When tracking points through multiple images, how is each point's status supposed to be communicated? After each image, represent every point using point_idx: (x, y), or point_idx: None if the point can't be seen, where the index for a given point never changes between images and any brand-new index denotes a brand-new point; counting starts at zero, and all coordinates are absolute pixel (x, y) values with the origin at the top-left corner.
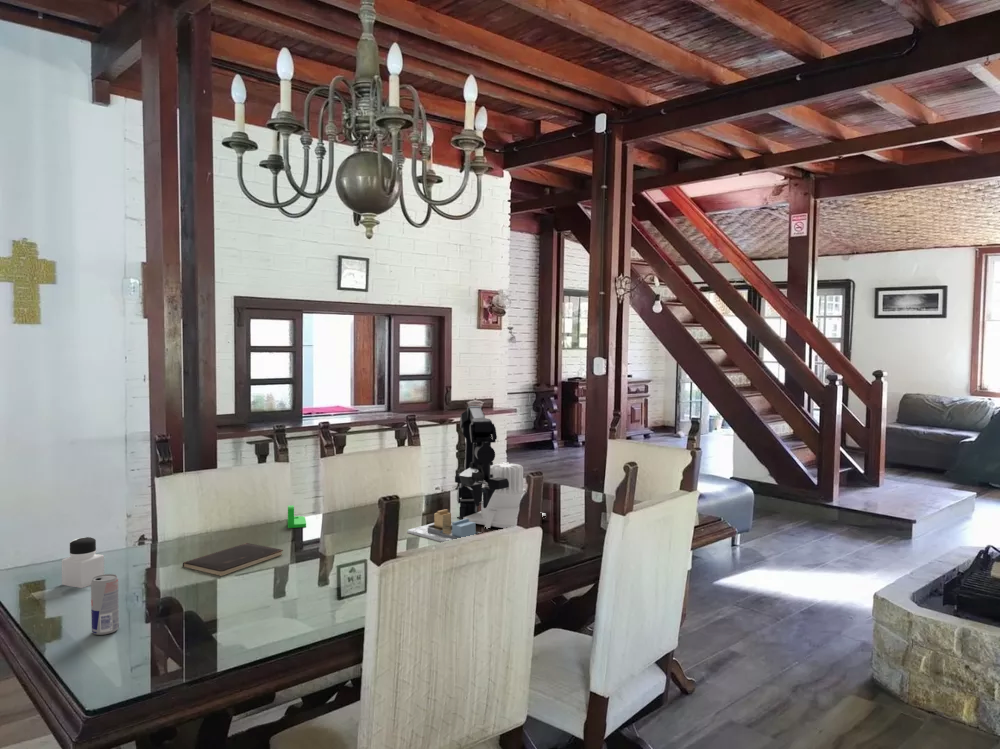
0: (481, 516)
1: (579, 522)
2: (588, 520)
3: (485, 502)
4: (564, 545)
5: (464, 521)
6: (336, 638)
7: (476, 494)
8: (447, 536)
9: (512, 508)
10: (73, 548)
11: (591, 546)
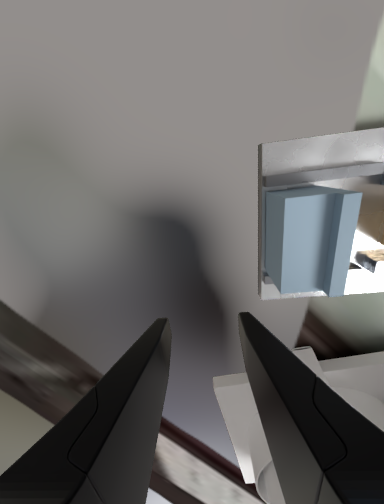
0: (373, 396)
1: (180, 479)
2: (179, 492)
3: (130, 355)
4: (53, 369)
5: (328, 266)
6: None
7: (283, 427)
8: (334, 167)
9: (271, 459)
10: None
11: (19, 395)
